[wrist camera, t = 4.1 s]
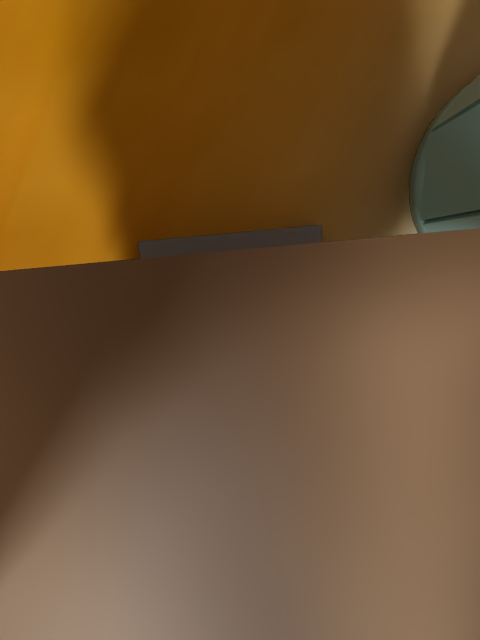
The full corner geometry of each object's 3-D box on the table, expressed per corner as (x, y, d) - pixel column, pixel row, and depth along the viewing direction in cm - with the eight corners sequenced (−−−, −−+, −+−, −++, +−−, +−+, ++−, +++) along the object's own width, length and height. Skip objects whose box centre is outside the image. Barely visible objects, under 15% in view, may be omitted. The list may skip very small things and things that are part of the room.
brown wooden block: (125, 552, 12) (31, 837, 6) (47, 270, 9) (-318, 299, 3) (353, 519, 12) (471, 753, 7) (362, 241, 9) (612, 215, 3)
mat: (183, 483, 16) (182, 488, 16) (140, 242, 13) (137, 241, 12) (321, 469, 16) (323, 474, 16) (318, 225, 13) (321, 225, 12)
